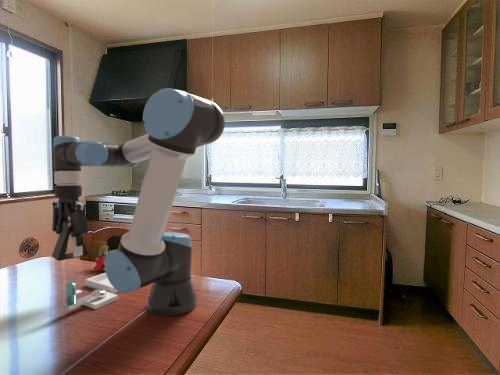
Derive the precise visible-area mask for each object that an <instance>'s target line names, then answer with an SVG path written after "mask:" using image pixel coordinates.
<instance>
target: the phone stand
mask: <svg viewBox="0 0 500 375" xmlns="http://www.w3.org/2000/svg"><path fill="white" fill-rule="evenodd" d="M61 225H62V229H61V232H60V235H59V238H57V241H56V244H55V245H54V249H53V252H52V255H51V258H53V259H54V260H56V261H58V262H60V261H66V260H69V259H70V260H71V259H74V258H75V259H76V258H80V257H81V258H83V257H86V256H89V252H88V250H87V248H86V246H85V243H84V242H83V255H81V256H77V257H73V252H66V248H67V246H68V243H69V239H70V237H71V240H72V242H73V235H74V231H73V227H72V224H71V220H70V218H68V220H66V219H65V220H63V221H62V224H61ZM65 252H66V253H65Z"/></svg>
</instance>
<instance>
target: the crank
mask: <svg viewBox="0 0 500 375" xmlns="http://www.w3.org/2000/svg"><path fill="white" fill-rule="evenodd" d="M76 285H77V284H76V282H75V281H72V282H71V281H70V282H67V283H65V291H66V292H65V293H66V295H65V298H66V303H63V309H64V310H67V311H70V310H73V309H75V308H78V307H81V306H84V305H83V304H86V303H88V302H90V301H93V300H95V299H100V298H103V297H105V296H106V290H105V289H97V290H96V289H94V290H93V291H92V292H91V293H90V294H87V295H85V296H83V297H79V298H77V295H76V290H77V287H76Z"/></svg>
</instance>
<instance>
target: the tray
mask: <svg viewBox="0 0 500 375" xmlns="http://www.w3.org/2000/svg"><path fill="white" fill-rule="evenodd" d="M85 287H88V288H90V289H94V290H97V289H105V290H106V292H109V293H112V294H115V295H117V294H119V293H120V292H119V291H118V290H116V289H115V288H114V287H113V286H112V285H111V283H110V281H109V280H108V277H107V275H106V272H104V273H100V274H98V275H95V276H91V277H88V278H86V279H85Z"/></svg>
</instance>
